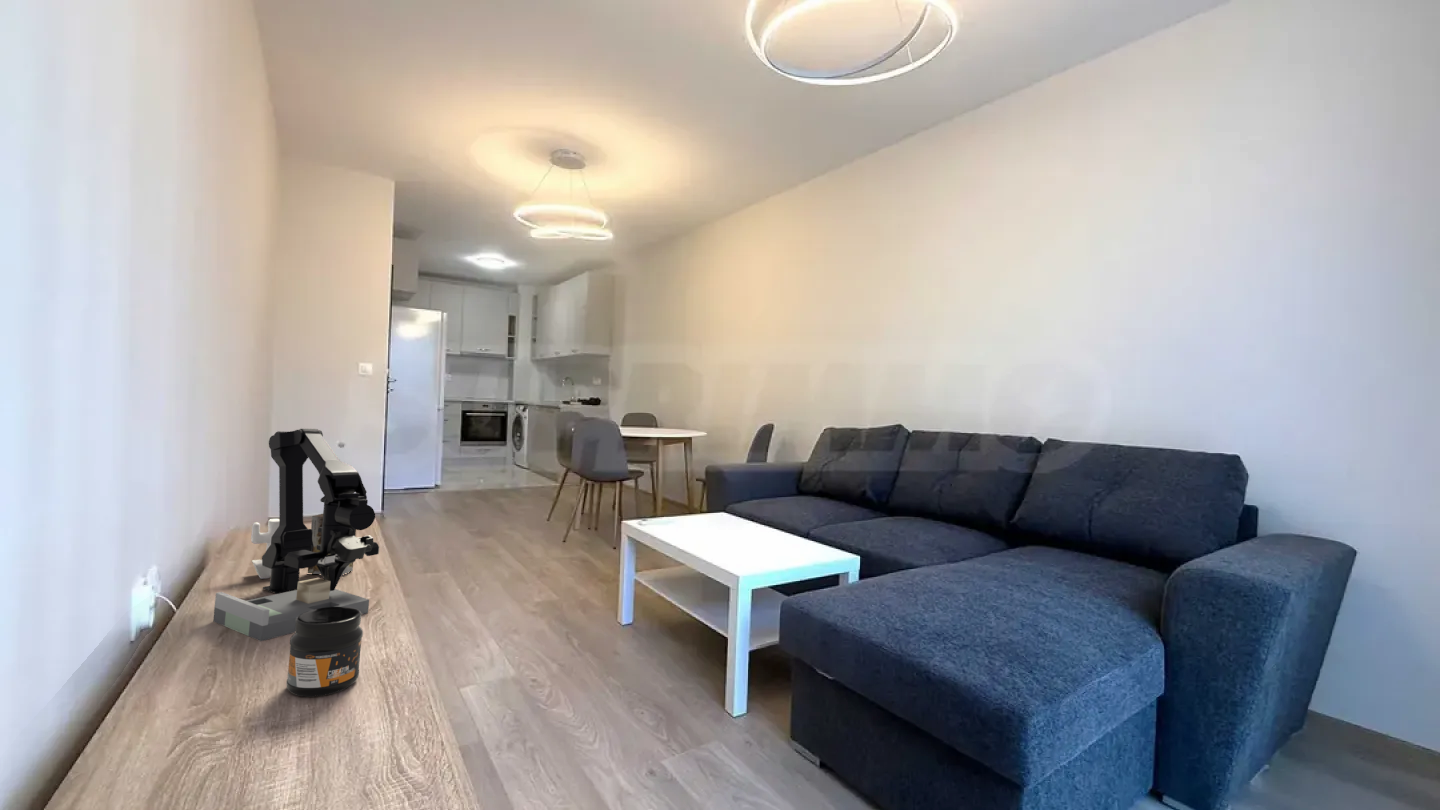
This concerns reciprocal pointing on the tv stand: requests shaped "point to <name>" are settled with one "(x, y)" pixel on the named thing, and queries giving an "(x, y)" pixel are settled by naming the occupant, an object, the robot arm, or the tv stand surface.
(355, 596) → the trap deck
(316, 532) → the coffee box
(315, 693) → the supplement container
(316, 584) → the maple block
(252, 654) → the tv stand surface
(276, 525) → the figurine
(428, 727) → the tv stand surface
